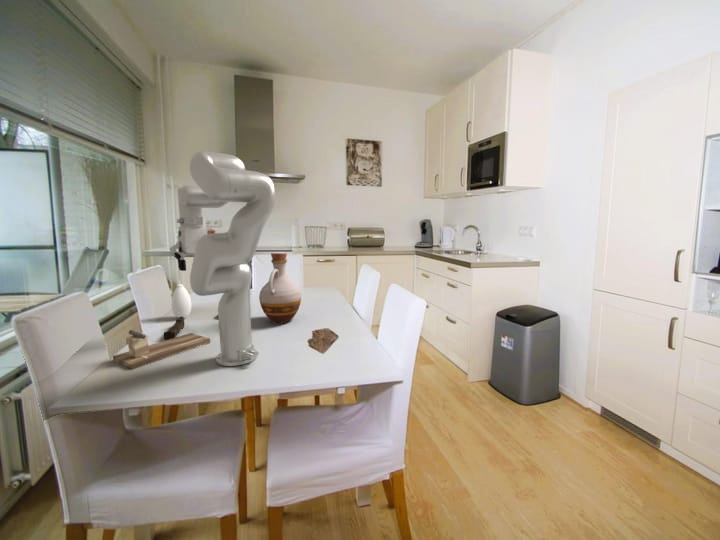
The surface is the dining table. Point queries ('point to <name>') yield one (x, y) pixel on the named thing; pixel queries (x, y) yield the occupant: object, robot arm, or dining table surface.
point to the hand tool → (174, 329)
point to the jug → (280, 293)
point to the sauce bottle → (181, 301)
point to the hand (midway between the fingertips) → (195, 268)
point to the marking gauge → (137, 344)
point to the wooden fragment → (322, 339)
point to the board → (162, 350)
